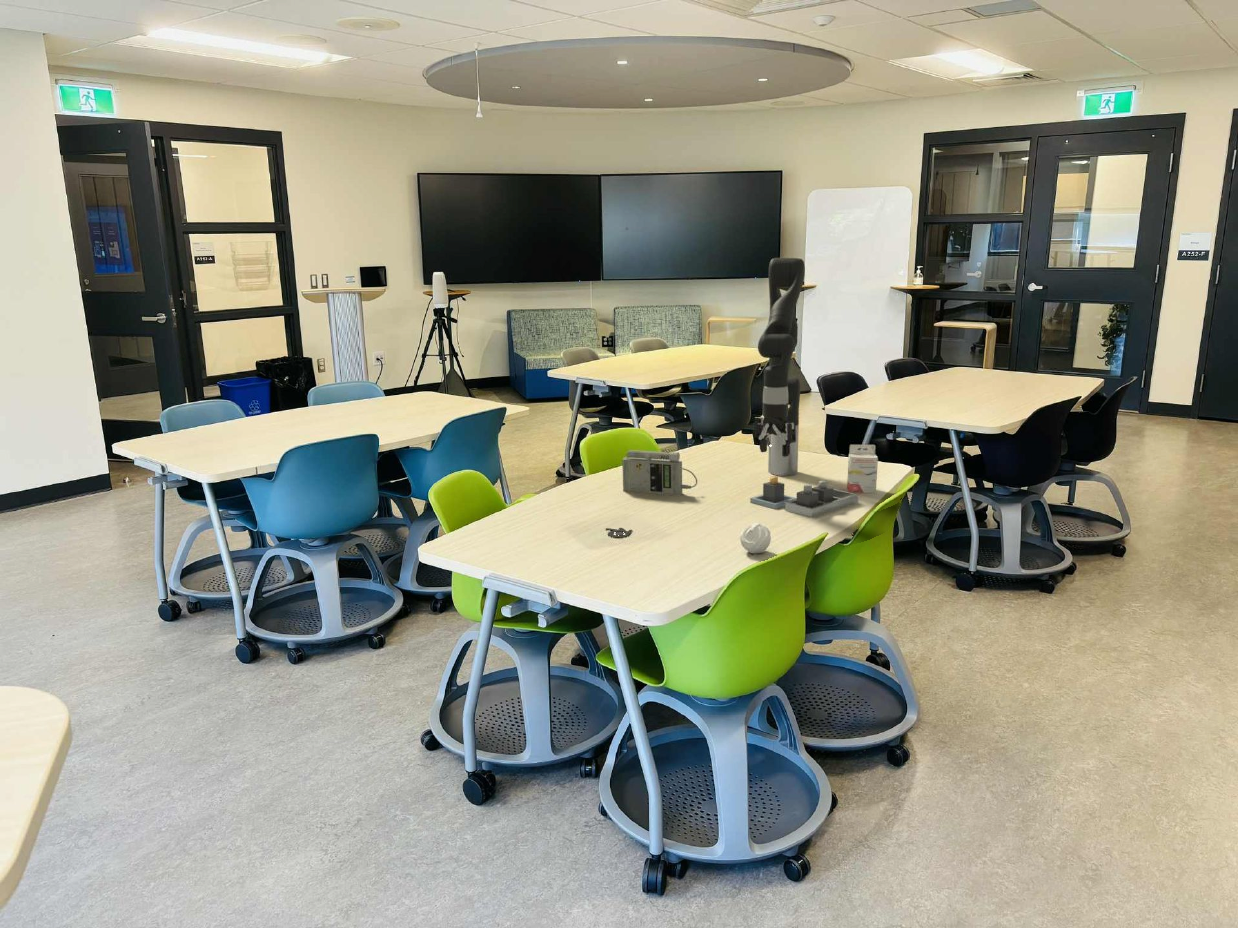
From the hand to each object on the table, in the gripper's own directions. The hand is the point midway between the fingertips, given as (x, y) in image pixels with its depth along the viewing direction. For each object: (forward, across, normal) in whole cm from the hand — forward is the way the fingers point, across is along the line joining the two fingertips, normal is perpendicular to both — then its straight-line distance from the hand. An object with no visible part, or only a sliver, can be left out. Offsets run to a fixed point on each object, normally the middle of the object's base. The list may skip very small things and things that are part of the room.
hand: (774, 454), depth 274 cm
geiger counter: (+16, -34, -16) cm, 41 cm away
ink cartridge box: (+16, +10, +31) cm, 36 cm away
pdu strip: (+16, +13, +7) cm, 22 cm away
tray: (+16, 0, 0) cm, 16 cm away
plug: (+15, 0, 0) cm, 15 cm away
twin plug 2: (+15, +13, +7) cm, 21 cm away
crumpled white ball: (+16, +26, -37) cm, 48 cm away
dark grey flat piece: (+17, -14, -52) cm, 56 cm away
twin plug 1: (+16, +13, 0) cm, 20 cm away
